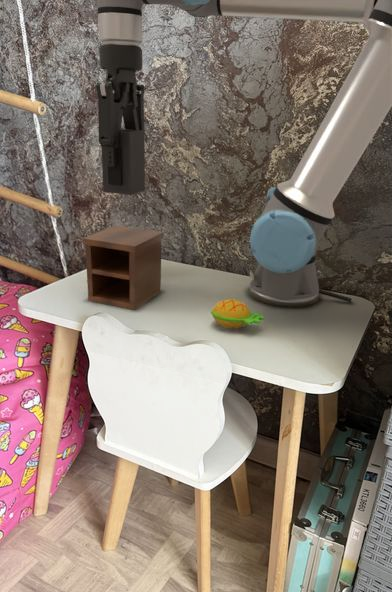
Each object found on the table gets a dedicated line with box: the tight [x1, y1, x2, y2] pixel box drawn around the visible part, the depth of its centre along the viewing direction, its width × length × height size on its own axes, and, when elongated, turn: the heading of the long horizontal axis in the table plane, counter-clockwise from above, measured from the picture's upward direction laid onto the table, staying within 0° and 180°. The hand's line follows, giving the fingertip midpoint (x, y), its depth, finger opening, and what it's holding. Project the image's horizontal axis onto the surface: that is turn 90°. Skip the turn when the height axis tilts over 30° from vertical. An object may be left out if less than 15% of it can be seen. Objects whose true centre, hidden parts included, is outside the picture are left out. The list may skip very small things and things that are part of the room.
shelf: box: [82, 225, 164, 311], centre depth 109 cm, size 12×13×13 cm
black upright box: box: [100, 128, 146, 196], centre depth 99 cm, size 6×6×11 cm
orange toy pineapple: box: [210, 298, 265, 329], centre depth 98 cm, size 7×10×5 cm
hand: (124, 182), depth 101 cm, fingers closed on black upright box, 6 cm apart
